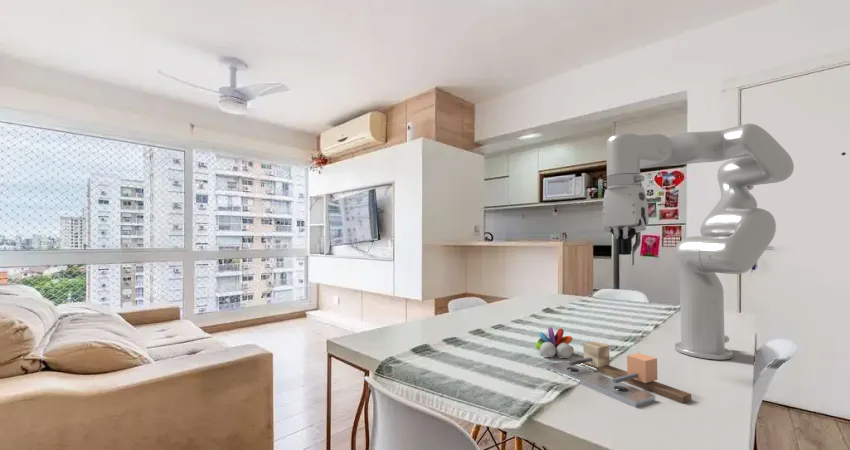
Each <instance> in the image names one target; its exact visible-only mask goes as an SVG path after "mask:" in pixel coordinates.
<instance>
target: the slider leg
mask: <svg viewBox="0 0 850 450" xmlns="http://www.w3.org/2000/svg"><path fill="white" fill-rule="evenodd" d="M626 367H627V368H626V369H627V370H626V371H627V375H624V376H621V377H617V378H614V377H612V379H613V382H614V383H619V382H621V383H623V382H624V381H626V380H630V379H635V380H638V381H641V382H644V383H648V382H652V381H657V380H658V358H657V357H654V356H652V355H648V354H644V353H640V352H636V353H633V354H628V355H626Z"/></svg>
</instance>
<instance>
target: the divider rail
mask: <svg viewBox="0 0 850 450" xmlns="http://www.w3.org/2000/svg"><path fill="white" fill-rule="evenodd" d="M567 362H568V365H570V366H572V365H577V366H578V365H579V364H581V363H583V364H585V365H588V366H591V367H594V368H596V369H597V371H596V372H597V373H601V374H603V375H606V376H607V377H608V376H609V377H610V378H617V377H621V376H624V375H627V370H623V369H621V368H619V367H616V366H612V365H610V345H609V344H605V343H603V342H598V341H596V340H594V341H590V342H588V341H587V342H584V343H583V357H582V358H579V359H575V360H569V361H567ZM623 382H625V383H628V384H629V385H631V386H634V387H635V386H636V387H637V388H641V389H643V390H646V391H649V392H652V393H654V394H656V395H659V396H662V397H664V398H667V399H669V400H673V401H676V402H677V403H681V404H685V403H687V402H690V401H692V393H690V392H687V391H684V390H681V389H678V388H675V387H672V386H669V385H667V384H664V383H661V382H658V381H657V380H655V381H652V382H648V383H644V382H641V381H638V380H635V379H630V380H626V381H623Z"/></svg>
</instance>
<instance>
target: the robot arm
mask: <svg viewBox="0 0 850 450" xmlns="http://www.w3.org/2000/svg"><path fill="white" fill-rule="evenodd" d="M722 161H723V163H722V164H721V165H720V166H719V168H718V169H717V174H716V175H717V181H718V185H719V190H720V199H719V200H718V202H717V204H716V205H715V206H714V207H713V208H712V209H711V211H710V212H709V213H708V215H707V216H706V217H705V218H704V220H703V221H702V223H701V226H700V231H699V232H700V234H701V236H700V235H697V236H695V235H694V236H689V237H685V238H682V239H681V240H680V241H679V242H678V243H677V245H676V246H675V250H674V256H675V262H676V265H677V269H678V277H679V292H680V293H679V297H680V298H679V299H680V301H679V303H680V304H679V305H680V342H679V341H678V342H676V343H674V349H675V350H676V351H677V352H679V353H682V354H684V355H687V356H689V357H690V356H691V357H695V358H701V359H707V360H717V361H718V360H720V361H721V360H729V359H733V356H734V355H733V351H731V350H730V349H729V348H726V345H725V343H729V342H730V338H729V336H728V335H725V307H724V306H725V302H724V301H725V300H724V297H725V296H724V288H723V284H722V282H721V280H720V279H719V277H718V275H717V274H726V275H727V274H728V275H741V274H745V273H747V272H748V271H750V270H751V269H752V268H753V267H754V266H755V264H756V263H757V262H758V261H759V260H760V257H761V256H763V254H764V253H765V251H766V250H767V248H768V247H769V246H770V244H771V242H772V241H773V239H774V238H775V234H776V231H777V224H776V219H775V217H774V216H773V214H772V213H771V212H770V211H768V210H766V209H763V208H759V207H758V203H757V200H756V198H755V196H754V195H753V194H752V193H751V192H750V191H749V190H748V187H749V186H751V187H752V186H758V185H768V184H776V183H780V182H784V181H786V180H787V179H789V178H790V177H791V176H792V174H793V172H794V168H795V167H794V161H793V159H792V157H791V155H790V154H789V153H788V152H787V150H786V149H785V148H784V147H783V146H782V145H781V144H780V143H779V142H778V140H776V139H775V138H774V137H773V136H772V134H770V133H769V132H768V131H766V130H765V128H762V126H759V125H758V124H754V123H745V124H740V125H737V126H733V127H729V128H726V129H722V130H713V131H712V130H711V131H709V130H708V131H689V132H683V133H678V134H674V135H671V136H667V135H665V134H662V133H647V134H635V133H632V132H631V133H630V132H629V133H618V134H614V135H612V136H609V138H608V139H607V140H606V189H605V190H604V194H603V200H602V216H601V217H602V224H603V226H604V227H603V231H604V232H607V233H611V234H612V235H613V236H614V239H616V250H617V255H623V256H625V255H631V254H632V250H633V246H632V245H633V243H632V242H633V241H632V240H633V239H634V238H635V236H636V235H637V234H638V233H641V232H644V231H646V230H647V227H646V226H647V225H648V224H649V220H650V218H649V217H650V216H649V215H650V214H649V207H648V205H649V204H648V199H647V195H646V191H645V190H646V189H645V188H644V186H642V184H641V182H644V181H645V176H644V175H641V169H650V168H659V167H671V166H682V165H690V164H701V163H715V162H722ZM724 161H725V162H724Z"/></svg>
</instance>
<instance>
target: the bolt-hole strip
mask: <svg viewBox="0 0 850 450" xmlns="http://www.w3.org/2000/svg"><path fill="white" fill-rule="evenodd" d="M568 362H569V361H565V360H563V361H560V362H559V361H558V362H555V363H549V364H546V368H547V367H548V368H550V369H553V370H555V371H558V372H560V373H563V374H566V375H568V376H570V377H573V378H575V379H578V380H580V383H579V384H580V385H582V386H585V387H588V388H589V389H592V390H595V391H597V392H598V393H600V394H601V393H602V394H604V395H606V396H609V397H611V398H613V399H616V400H617V401H620V402H623V403H624V404H627V405H629V406H631V407H634V408H638V407H642V406H645V405H647V404H650V403H653V402H656V395H655V394H652V393H649V392H647V391H644V390H642V389H639V388H638V387H635V386H633V385H630V384H626V383H623V382H619V383H614V382H613V378H612V377H608V376H605V375H604V374H603V375H602V374H600V373H599V372H596V371H595V372H594V371H593V370H591V369H590V370H589V369H588V368H584V367H583V366H582V367H581V366H579V365H578V364H577V365H572V366H570V365H568Z"/></svg>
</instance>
